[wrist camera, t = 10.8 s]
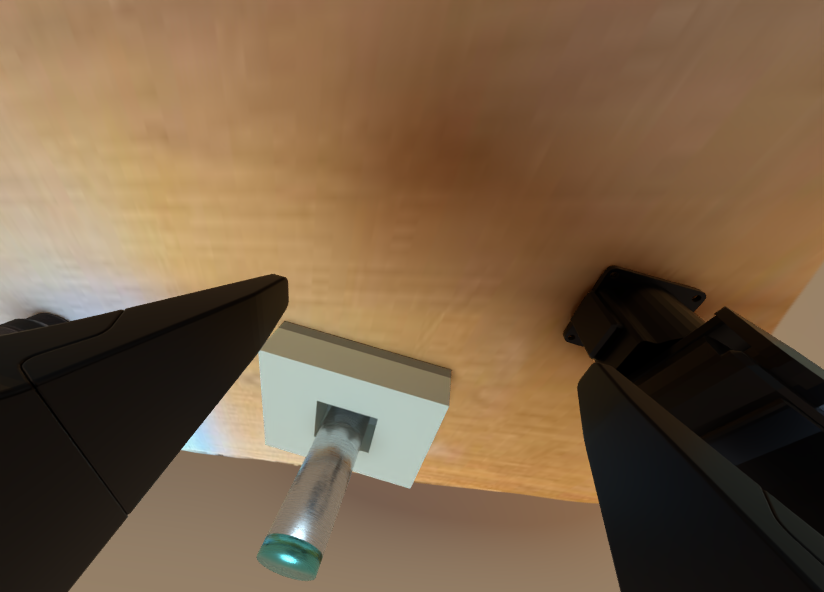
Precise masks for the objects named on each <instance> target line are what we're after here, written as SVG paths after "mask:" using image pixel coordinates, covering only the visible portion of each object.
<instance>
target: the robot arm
mask: <svg viewBox="0 0 824 592" xmlns="http://www.w3.org/2000/svg"><path fill="white" fill-rule="evenodd" d="M613 272H616V274H615V275H614V276H610V275H611V274H612V273H613ZM696 295H697V297H695V298H693V297H694V296H696ZM692 298H693V299H692ZM705 299H706V294H705V293H704V292H702V291H701V290H699V289H696V288H692V287H689V286H685V285H682V284H678V283H675V282H671V281H667V280H664V279H660V278H657V277H653V276H650V275H646V274H643V273H639V272H635V271H632V270H628V269H625V268H621V267H618V266H611V267H608V268H607V269H606V270H605V271H604V273H603V274H602V276H601V277H600V279H599V280H598V282H597V283H596V285H595V286H594V288H593V289H592V291H590V292H589V293H588V294H587V295H586V297H585V298H584V300H583V301H582V303H581V304H580V306H579V307H578V309H577V310H576V312H575V313H574V315H573V316H572V318H571V322H570V324H569V325H568V327H567V328H566V330H565V331H564V333H563V337H564V339H565V340H566V341H567V342H569V343H573V344H576V345H579V346H583V347H585V349H586V351H587V353H588V355H589V357H590V358H591V359H594V360H595V363H593V364H592V365H591V366H590V367H589V369H588V370H587V371H586V373H585V374H584V375H583V376H582V378H581V379H580V381H579V383H578V386H577V391H578V399H579V406H580V414H581V422H582V429H583V436H584V441H585V446H586V451H587V455H588V459H589V463H590V467H591V471H592V475H593V479H594V484H595V488H596V492H597V496H598V500H599V504H600V508H601V512H602V517H603V520H604V525H605V529H606V533H607V537H608V541H609V545H610V550H611V554H612V558H613V562H614V566H615V570H616V574H617V578H618V583H619V587H620V591H621V592H824V370H823V369H822V368H820V367H819V366H818V365H816V364H815V363H813V362H812V361H810V360H809V359H807V358H806V357H804V356H803V355H801V354H800V353H799V352H797V351H796V350H794V349H792V348H791V347H789V346H788V345H786V344H785V343H783V342H781V341H780V340H778V339H777V338H775V337H773V336H772V335H770V334H769V333H767V332H766V331H764V330H762V329H761V328H759V327H758V326H756V325H754V324H753V323H751V322H750V321H748V320H746V319H745V318H743V317H742V316H740V315H739V314H737V313H735V312H734V311H732V310H731V309H729V308H727V307H726V306H725V307H723V308H722V309H720V310H719V311H718V312H716V313H715V315H716V316H715V317H713V318H712V319H710V320H709V321H707V322H704V321H703V320H702V319H701V318H700V317H698V316H697V315H696V314H695V313H694V311H695V310H696V309H697V308H698V307H699V306H700V305H701V304H702V303H703V301H704V300H705ZM288 302H289V296H288V280H287V278H286V277H283V276H279V275H276V274H270V275H265V276H261V277H257V278H253V279H249V280H244V281H240V282H236V283H232V284H227V285H223V286H219V287H215V288H211V289H206V290H202V291H198V292H194V293H190V294H185V295H181V296H177V297H173V298H168V299H164V300H160V301H156V302H152V303H147V304H143V305H139V306H135V307H131V308H126V309H125V310H117V311H113V312H109V313H105V314H101V315H96V316H92V317H87V318H83V319H79V320H74V321H70V322H65V323H60V324H55V325H50V326H45V327H40V328H35V329H30V330H25V331H20V332H15V333H10V334H5V335H0V592H68V591H69V590H70V589H71V587H72V586H73V585H74V584H75V582H76V581H77V580H78V579H79V577H80V576H81V575H82V574H83V572H84V571H85V570H86V568H87V567H88V566H89V565H90V563H91V562H92V561H93V560H94V559H95V557H96V556H97V555H98V553H99V552H100V551H101V550H102V548H103V547H104V546H105V545H106V544H107V542H108V541H109V540H110V538H111V537H112V536H113V535H114V533H115V532H116V531H117V530H118V528H119V527H120V526H121V525H122V523H123V522H124V521H125V520H126V518H127V517H128V514H130V513H131V512H132V510H133V509H134V508H135V507H136V505H137V504H138V503H139V502H140V500H141V499H142V498H143V496H144V495H145V494H146V493H147V492H148V490H149V489H150V488H151V487H152V485H153V484H154V483H155V481H156V480H157V479H158V478H159V476H160V475H161V474H162V473H163V472H164V470H165V469H166V468H167V467H168V465H169V464H170V463H171V462H172V460H173V459H174V458H175V457H176V455H177V454H178V453H179V452H180V450H181V449H182V448H183V447H184V445H185V444H186V443H187V441H188V440H189V439H190V438H191V436H192V435H193V434H194V433H195V431H196V430H197V429H198V428H199V426H200V425H201V424H202V423H203V421H204V420H205V419H206V418H207V416H208V415H209V414H210V413H211V411H212V410H213V409H214V408H215V406H216V405H217V404H218V403H219V401H220V400H221V399H222V398H223V396H224V395H225V394H226V393H227V391H228V390H229V389H230V388H231V386H232V385H233V384H234V383H235V381H236V380H237V379H238V378H239V376H240V375H241V374H242V373H243V371H244V370H245V369H246V367H247V366H248V365H249V364H250V362H251V361H252V360H253V359H254V357H255V356H256V355H257V354H258V352H259V351H260V350H261V348H262V347H263V345H264V344H265V342H266V341H267V339H268V337H269V336H270V334H271V333H272V331H273V329H274V328H275V326H276V325H277V323H278V321H279V320H280V318H281V317H282V315H283V313H284V312H285V310H286V308H287V306H288ZM569 335H573V336H571V337H568V336H569Z"/></svg>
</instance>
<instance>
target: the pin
mask: <svg viewBox="0 0 824 592" xmlns="http://www.w3.org/2000/svg"><path fill="white" fill-rule="evenodd" d="M370 418H371V417H370V416H366V415H363V414H360V413H356V412H353V411H350V410H346V409H343V408H340V407H336V406H333V405H331V407H330V409H329V411H328V413H327V415H326V417H325V419H324V421H323V423H322V425H321V427H320V429H319V431H318V433H317V435H316V437H315V439H314V442H313V444H312V446H311V448H310V450H309V452H308V454H307V456H306V458H305V460H304V462H303V464H302V466H301V468H300V470H299V472H298V474H297V476H296V478H295V480H294V482H293V484H292V486H291V488H290V490H289V492H288V494H287V496H286V498H285V500H284V502H283V504H282V506H281V508H280V510H279V512H278V514H277V516H276V518H275V520H274V522H273V524H272V526H271V528H270V530H269V532H268V534H267V536H266V538H265V540H264V542H263V544H262V546H261V548H260V550H259V553H258V554H257V560H258V561H259V562H260V563H261V564H262V565H263V566H264V567H266V568H268V569H269V570H271V571H273V572H275V573H278V574H280V575H282V576H285V577H288V578H292V579H296V580H302V581H311V580H314V579H315V578H316V575H317V572H318V569H319V566H320V564H321V561H322V558H323V555H324V552H325V549H326V546H327V543H328V540H329V537H330V534H331V531H332V529H333V526H334V523H335V520H336V517H337V514H338V511H339V508H340V505H341V502H342V499H343V497H344V494H345V491H346V488H347V485H348V482H349V479H350V476H351V473H352V470H353V467H354V465H355V462H356V459H357V456H358V453H359V450H360V447H361V444H362V441H363V438H364V435H365V432H366V430H367V427H368V424H369V421H370Z"/></svg>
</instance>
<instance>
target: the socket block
mask: <svg viewBox="0 0 824 592" xmlns="http://www.w3.org/2000/svg"><path fill="white" fill-rule="evenodd" d="M258 353H259V366H260V379H261V392H262V405H263V418H264V431H265V445H268V446H271V447H275V448H278V449H281V450H285V451H288V452H291V453H294V454H298V455H301V456H304V457H306V456H307V454H308V452H309V450H310V448H311V446H312V444H313V442H314V439H315V437H316V435H317V433H318V431H319V429H320V427H321V425H322V423H323V421H324V419H325V417H326V415H327V413H328V411H329V409H330V407H331V405H333V406H336V407H340V408H343V409H346V410H350V411H353V412H356V413H360V414H363V415H366V416H370V417H371V418H370V421H369V424H368V427H367V430H366V432H365V435H364V438H363V441H362V444H361V447H360V450H359V453H358V456H357V459H356V462H355V465H354V467H353V470H352V471H354V472H357V473H360V474H364V475H367V476H370V477H374V478H377V479H380V480H383V481H387V482H390V483H394V484H396V485H400V486H403V487H406V488H411V486H412V484H413V482H414V480H415V477H416V475H417V473H418V471H419V469H420V467H421V465H422V463H423V460H424V458H425V456H426V454H427V452H428V450H429V448H430V446H431V443H432V441H433V439H434V437H435V435H436V433H437V431H438V429H439V426H440V424H441V422H442V420H443V418H444V416H445V414H446V412H447V410H448V407H449V400H450V385H451V371H452V370H450V369H446V368H443V367H439V366H436V365H432V364H429V363H426V362H422V361H419V360H415V359H412V358H409V357H405V356H402V355H398V354H395V353H392V352H388V351H385V350H381V349H378V348H375V347H371V346H368V345H364V344H361V343H358V342H354V341H351V340H347V339H344V338H341V337H337V336H334V335H330V334H327V333H323V332H320V331H317V330H313V329H310V328H306V327H303V326H300V325H296V324H293V323H289V322H286V321H284V322H283V324H282V325H281V326H280V327H279V328H278V329H277V330H276V331H275V332H274V333H273V334H272V335H271V336H270V338H269V339H268V340H267V341H266V342H265V344H264V345H263V347H262V348H261V350H260V351H259V352H258Z"/></svg>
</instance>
